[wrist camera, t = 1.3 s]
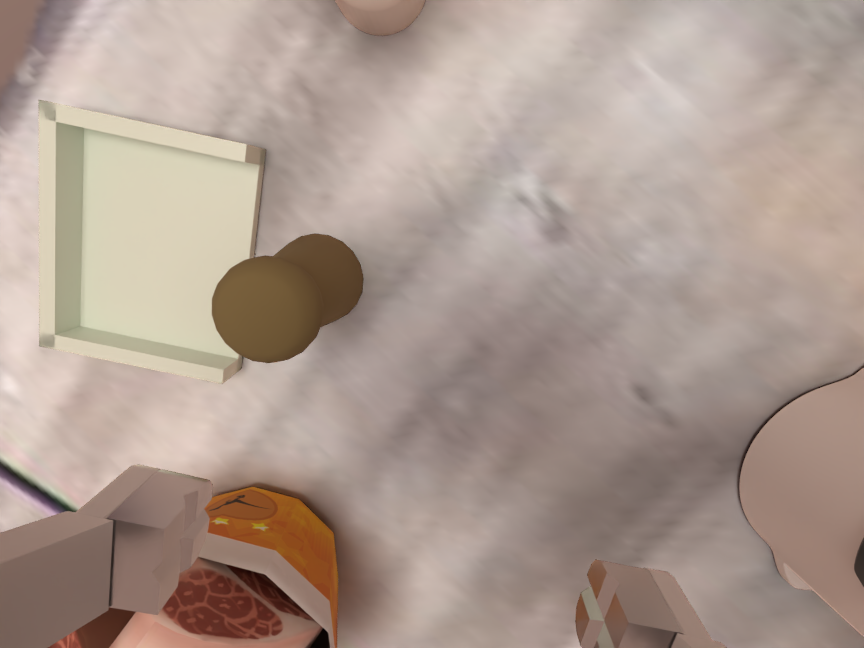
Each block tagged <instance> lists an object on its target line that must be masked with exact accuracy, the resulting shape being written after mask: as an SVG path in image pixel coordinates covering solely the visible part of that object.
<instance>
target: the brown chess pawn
mask: <svg viewBox="0 0 864 648" xmlns="http://www.w3.org/2000/svg"><path fill="white" fill-rule="evenodd" d="M362 288H363V274H362V269H361V265H360V263H359V261H358V259H357V258H356V256H355V254H354V252H353V251H352V250H351V249H350V248H348V247H347V246H346V245H345V244H344V243H343V242H342V241H340V240H337V239H335V238H333V237H331V236H329V235H321V234H310V235H305V236H301V237H299V238H297V239H296V240H294V241H292V242H290V243H289V244H288V245H286V246H285V247H284V248H283V249H281V250H280V251H279V252H278V253H277V254H275V255H274V256H273V257H272V256H261V257H256V258H250V259H246V260H244V261H242V262H240V263H238V264H237V265H235V266H233V267H231V268H230V269H229V270H228V272H227V273H226V274H225V275H224V276H223V278H222V279H221V280H220V281H219V282H218V284H217V286H216V289H215V291H214V294H213V297H212V317H213V320H214V324H215V327H216V330H217V332H218V333H219V335H220V336H221V337H222V339H223V340H224V342H225V343H226V344H227V345H228V346H229V347H230V348H231V349H233V350H234V351H235V352H236V353H237V354H239V355H241V356H243V357H245V358H248V359H250V360H252V361H257V362H265V363H272V362H278V361H284V360H288V359H290V358H292V357H294V356H296V355H298V354H300V353H302V352H303V351H304V350H305V349H306V348H307V347H308V346H309V344H310V343H311V342H312V341H313V340H314V339H315V338H316V336H317V334H318V332H319V329H320V327H322V326H324V325H327V324H329V323H331V322H333V321H335V320H337V319H339V318H341V317H343V316H345V315H347V314H348V313H349V312H350V311H351V310H352V309H353V308H354V307H355V305H356V304H357V302H358V300H359V298H360V296H361V293H362Z"/></svg>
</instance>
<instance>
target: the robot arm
mask: <svg viewBox="0 0 864 648" xmlns="http://www.w3.org/2000/svg"><path fill="white" fill-rule="evenodd" d="M212 489H213V484H212V482H211V481H210V480H207V479H203V478H198V477H194V476H190V475H185V474H181V473H176V472H172V471H168V470H161V469H158V468H153V467H148V466H144V465H139V464H138V465H133V466H131V467H129V468H128V469H127V470H126V471H124V472H123V473H122V474H121V475H120V476H118V477H117V478H116V479H115V480H114V481H112V482H111V483H110V484H109V485H108V486H106V487H105V488H104V489H103V490H102V491H100V492H99V493H98V494H97V495H96V496H95V497H93V498H92V499H91V500H90V501H89V502H87V503H86V504H85V505H84V506H83V507H81V508H80V509H79V510H78V511H77V512H75V513H74V512H69V511H66V512H63V513H60V514H57V515H54V516H51V517H47V518H44V519H41V520H38V521H35V522H32V523H29V524H26V525H23V526H20V527H17V528H14V529H11V530H8V531H5V532H2V533H0V648H48V647H50V646H51V645H53V644H54V643H56V642H58V641H59V640H61V639H63V638H64V637H66V636H67V635H69V634H71V633H72V632H74V631H76V630H77V629H79V628H80V627H82V626H84V625H85V624H87V623H88V622H90V621H92V620H93V619H95V618H97V617H98V616H100V615H101V614H103V613H105V612H106V611H108V609H109V607H110V608H117V609H123V610H129V611H135V612H141V613H147V614H153V615H158V614H159V612H160V611H161V609H162V608H163V607H164V605H165V604H166V602H167V601H168V599H169V598H170V597H171V595H172V594H173V592H174V591H175V589H176V588H177V587H178V581H179V573H181V572H183V571H185V570H187V569H189V568H191V566H192V565H193V563H194V562H195V560H196V559H197V557H198V556H199V553H200V551H201V549H202V547H203V545H204V542H205V539H206V536H207V532H208V527H209V519H210V518H209V516H208V514H207V513H206V511H205V509H204V508H205V507H206V506H207V504H208V503H209V502H210V501H211V499H212ZM739 489H740V499H741V504H742V507H743V511H744V513H745V515H746V518H747V519H748V521H749V523H750V524H751V526H752V527H753V529H754V530H755V531H756V532H757V533H758V534H759V535H760V537H761V538H762V539H763V540H764V541H765V542H766V543H767V544H768V545H769V546H770V548H771V549H772V551H773V555H774V559H775V563H776V566H777V569H778V571H779V573H780V575H781V576H782V577H783V578H784V579H785V580H786V581H787V582H788V583H789V584H790V585H791V586H793V587H794V588H797V589H801V590H813V591H814V592H815V593H816V594H817V595H818V596H820V597H821V598H822V599H823V600H824V601H825V602H826V603H827V604H828V605H829V606H830V607H831V608H832V609H833V610H835V611H836V612H837V613H838V614H839V615H840V616H841V617H842V618H843V619H844V620H845V621H847V622H848V623H849V624H850V625H851V626H852V627H853V628H854V629H855V630H856V631H857V632H859V633H860V634H861V635H862V636H863V637H864V368H862V369H861V370H860V371H859V372H857V373H856V374H855V375H853V376H851V377H849V378H847V379H844V380H842V381H839V382H836V383H833V384H830V385H827V386H824V387H821V388H818V389H816V390H813V391H811V392H809V393H807V394H805V395H803V396H801V397H799V398H798V399H796V400H794V401H793V402H791V403H790V404H788V405H787V406H785V407H784V408H783V409H782V410H780V411H779V412H778V413H777V414H776V415H775V416H773V417H772V418H771V419H770V420H769V421H768V422H767V423H766V425H765V426H764V427H763V428H762V429H761V431H760V432H759V433H758V435H757V436H756V438H755V439H754V441H753V442H752V444H751V446H750V448H749V450H748V452H747V454H746V457H745V459H744V462H743V466H742V469H741V474H740V485H739ZM587 576H588V579H589V581H590V584H591V586H590V587H588V588H587V589H585V590H584V591H583V592H581V594H580V597H579V600H578V603H577V607H576V621H575V622H576V630H577V635H578V639H579V642H580V645H581V647H582V648H727V647H726V646H724V645H723V644H722V643H721V642H718V641H713V640H712V639H711V637H710V636H709V634H708V632H707V631H706V629H705V627H704V626H703V624H702V622H701V621H700V619H699V618H698V616H697V614H696V613H695V611H694V609H693V608H692V606H691V604H690V603H689V601H688V599H687V598H686V596H685V595H684V593H683V591H682V590H681V588H680V586H679V585H678V583H677V581H676V580H675V578H674V577H673V576H672V575H671V574H670V573H668V572H665V571H659V570H654V569H648V568H638V567H633V566H627V565H622V564H617V563H612V562H607V561H602V560H597V559H595V561H594V562H593V563H592V564H591V566H590V569H589V571H588V574H587Z"/></svg>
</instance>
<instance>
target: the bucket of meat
mask: <svg viewBox="0 0 864 648" xmlns="http://www.w3.org/2000/svg"><path fill="white" fill-rule="evenodd" d="M204 509H205V511H206V513H207V514H208V516H209V518H210V519H209V527H208V532H207V536H206V539H205V542H204V545H203V547H202V549H201V551H200V553H199V556H198V557H197V559H196V560H195V562H194V563H193V565H192V566H191V568H189V569H187V570H185V571H183V572H181V573H179V581H178V587H177V588H176V589H175V591H174V592H173V594H172V595H171V597H170V598H169V599H168V601H167V602H166V604H165V605H164V607H163V608H162V609H161V611H160V612H159V614H158V615H153V614H147V613H141V612H135V611H129V610H123V609H117V608H110V607H109V609H108V611H106V612H105V613H103V614H101V615H100V616H98V617H97V618H95V619H93V620H92V621H90V622H88V623H87V624H85V625H84V626H82V627H80V628H79V629H77V630H76V631H74V632H72V633H71V634H69V635H67V636H66V637H64V638H63V639H61V640H59V641H58V642H56V643H54V644H53V645H51V646H50V647H48V648H337V613H338V570H337V561H336V551H335V542H334V533H333V532H332V531H331V530H330V529H329V528H328V527H327V526H326V525H325V524H324V523H323V522H322V521H321V520H320V519H319V518H318V517H317V516H316V515H315V514H314V513H313V512H312V511H311V510H310V509H309V508H308V507H307V506H306V505H305V504H304V503H302V502H301V501H300V500H299V499H297V498H293V497H289V496H286V495H282V494H278V493H275V492H271V491H267V490H263V489H260V488H256V487H250V488H246V489H242V490H238V491H234V492H230V493H226V494H222V495H218V496H214V497H212V499H211V501H210V502H209V503H208V504H207V506H206V507H205V508H204Z"/></svg>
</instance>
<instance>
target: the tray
mask: <svg viewBox="0 0 864 648" xmlns="http://www.w3.org/2000/svg"><path fill="white" fill-rule="evenodd" d="M265 154H266V149H262V148H258V147H255V146H251V145H247V144H243V143H238V142H234V141H229V140H224V139H220V138H215V137H210V136H206V135H201V134H196V133H192V132H187V131H182V130H178V129H173V128H168V127H164V126H159V125H154V124H150V123H145V122H141V121H136V120H131V119H127V118H122V117H117V116H113V115H108V114H103V113H99V112H94V111H89V110H85V109H80V108H75V107H71V106H66V105H61V104H57V103H52V102H48V101H43V100H39V346H40V347H45V348H50V349H55V350H60V351H65V352H70V353H74V354H79V355H84V356H89V357H94V358H99V359H103V360H108V361H113V362H118V363H123V364H128V365H133V366H137V367H142V368H147V369H152V370H157V371H162V372H167V373H171V374H176V375H181V376H186V377H191V378H196V379H200V380H205V381H210V382H215V383H220V384H223V383H224V382H225V381H227V380H228V379H229V378H230V377H231V376H233V375H234V374H235V373H236V372H238V371H239V370H240V369H241V368H242V360H243V356H241V355H239V354H237V353H236V352H235V351H234V350H233V349H231V348H230V347H229V346H228V345H227V344H226V343H225V342H224V340H223V339H222V337H221V336H220V335H219V333H218V332H217V330H216V327H215V324H214V320H213V317H212V297H213V294H214V291H215V289H216V286H217V284H218V282H219V281H220V280H221V279H222V278H223V276H224V275H225V274H226V273H227V272H228V270H229V269H230V268H231V267H233V266H235V265H237V264H238V263H240V262H242V261H244V260H246V259H250V258H254V252H255V243H256V234H257V225H258V216H259V207H260V198H261V189H262V181H263V172H264V163H265Z"/></svg>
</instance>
